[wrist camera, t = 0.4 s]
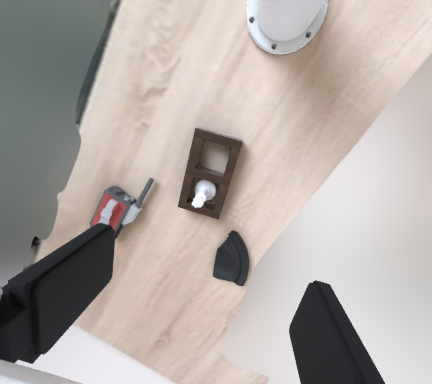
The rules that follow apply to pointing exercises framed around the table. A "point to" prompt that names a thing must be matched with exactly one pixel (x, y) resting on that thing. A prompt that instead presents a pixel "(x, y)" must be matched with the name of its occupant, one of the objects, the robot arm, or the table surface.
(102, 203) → the walkie-talkie
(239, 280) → the curved wedge
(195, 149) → the rack
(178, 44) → the table surface
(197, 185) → the chess piece
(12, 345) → the robot arm
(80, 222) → the table surface
